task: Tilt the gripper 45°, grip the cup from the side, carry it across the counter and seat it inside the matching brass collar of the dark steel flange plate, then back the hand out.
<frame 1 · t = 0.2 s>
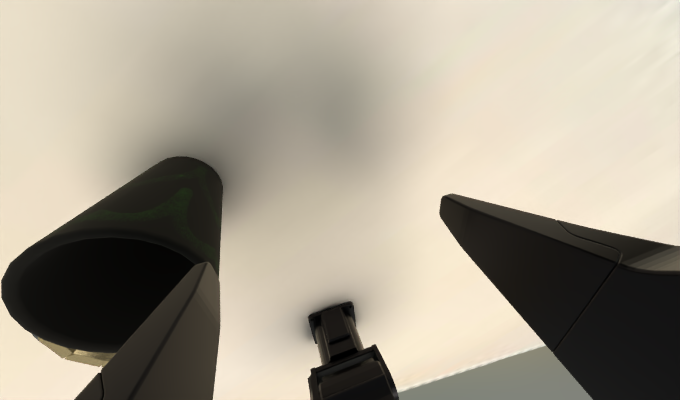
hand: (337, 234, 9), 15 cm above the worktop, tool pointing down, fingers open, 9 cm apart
flange plate: (133, 310, 25), on the worktop
cup: (187, 186, 21), on the worktop
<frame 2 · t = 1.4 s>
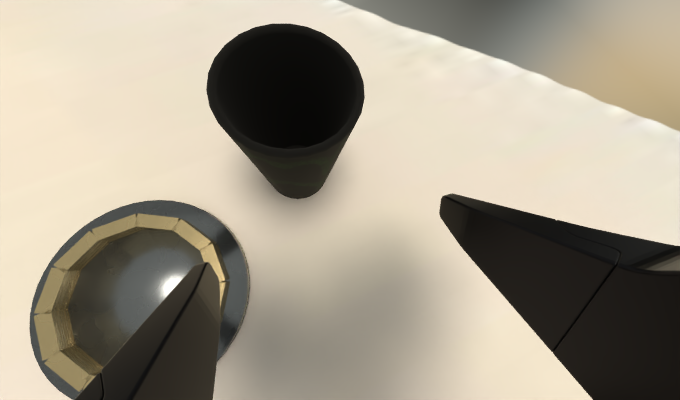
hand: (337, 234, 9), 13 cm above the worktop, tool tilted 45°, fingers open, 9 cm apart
flange plate: (152, 293, 19), on the worktop
cup: (298, 171, 24), on the worktop
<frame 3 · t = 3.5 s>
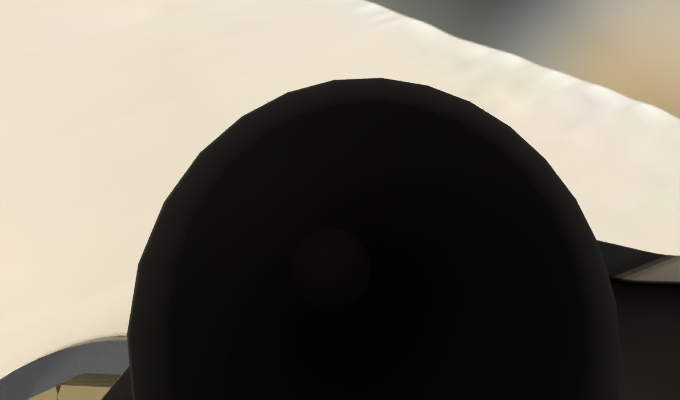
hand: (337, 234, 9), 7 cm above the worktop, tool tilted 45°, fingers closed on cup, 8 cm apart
cup: (330, 267, 15), on the worktop, touching gripper
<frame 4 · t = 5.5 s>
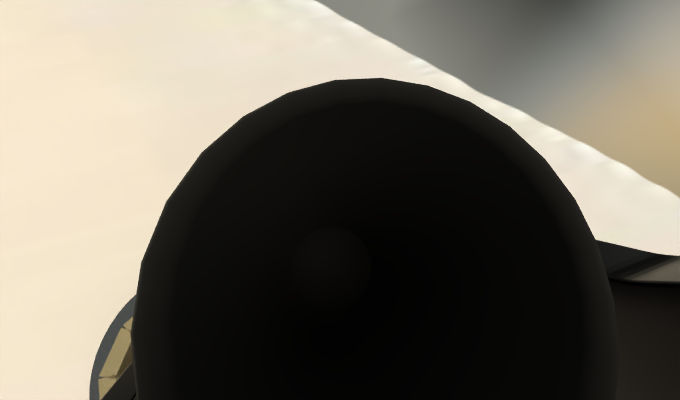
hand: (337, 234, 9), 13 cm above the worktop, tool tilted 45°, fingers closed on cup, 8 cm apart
flange plate: (209, 360, 19), on the worktop
cup: (331, 266, 15), point 6 cm above the worktop, touching gripper
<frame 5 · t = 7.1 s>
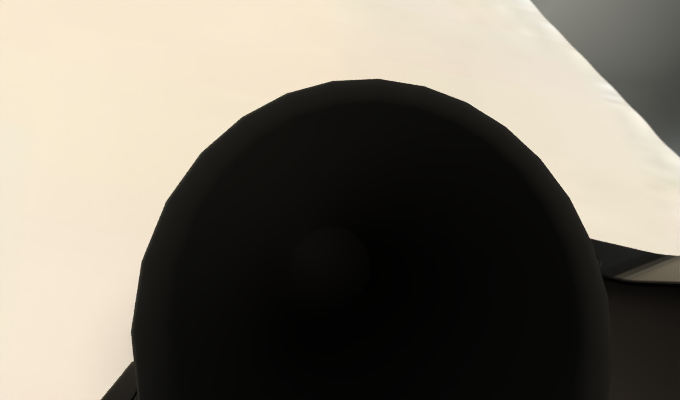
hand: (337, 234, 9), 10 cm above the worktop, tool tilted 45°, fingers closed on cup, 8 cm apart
cup: (330, 266, 16), point 3 cm above the worktop, touching gripper
when the fingers open (9 cm above the worktop, at t = 7.9 s): cup drops 1 cm, resting on flange plate.
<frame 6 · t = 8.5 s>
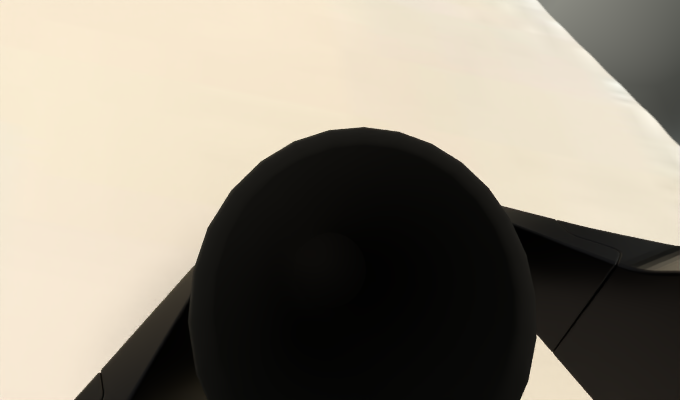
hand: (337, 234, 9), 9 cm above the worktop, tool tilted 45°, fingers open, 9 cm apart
cup: (329, 268, 17), point 1 cm above the worktop, touching flange plate
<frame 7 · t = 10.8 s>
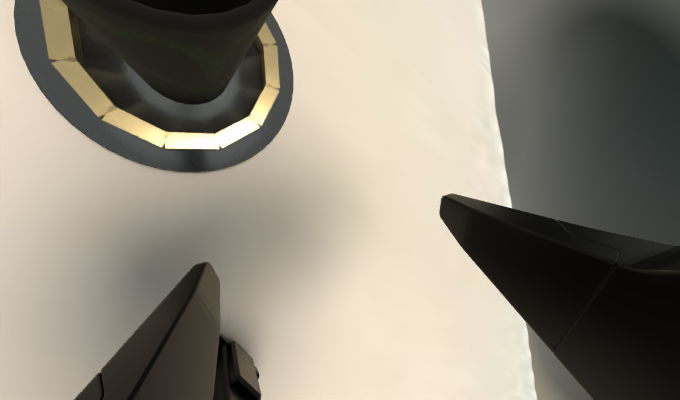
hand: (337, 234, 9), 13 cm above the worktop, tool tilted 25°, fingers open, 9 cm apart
flange plate: (185, 64, 17), on the worktop
cup: (185, 62, 16), point 1 cm above the worktop, touching flange plate
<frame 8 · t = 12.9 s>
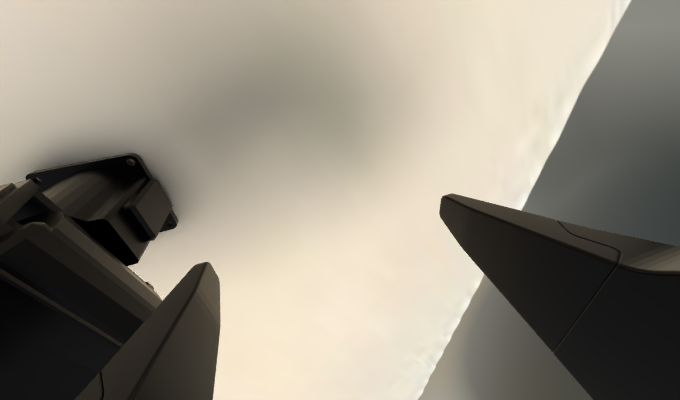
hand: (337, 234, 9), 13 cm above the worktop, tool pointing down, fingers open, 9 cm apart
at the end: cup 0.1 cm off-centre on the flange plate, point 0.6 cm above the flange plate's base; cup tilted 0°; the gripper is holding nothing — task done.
